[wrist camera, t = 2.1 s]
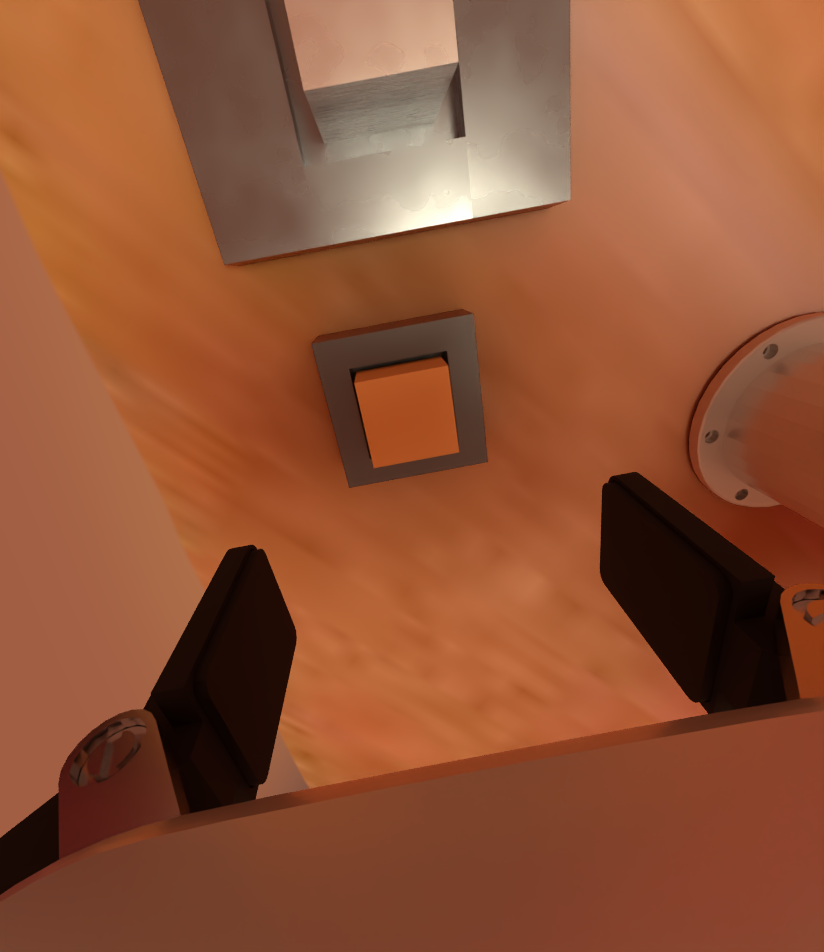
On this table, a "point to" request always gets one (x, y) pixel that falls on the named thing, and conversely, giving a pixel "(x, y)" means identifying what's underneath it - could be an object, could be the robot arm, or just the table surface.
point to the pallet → (368, 157)
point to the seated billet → (373, 62)
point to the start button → (407, 411)
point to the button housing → (390, 347)
